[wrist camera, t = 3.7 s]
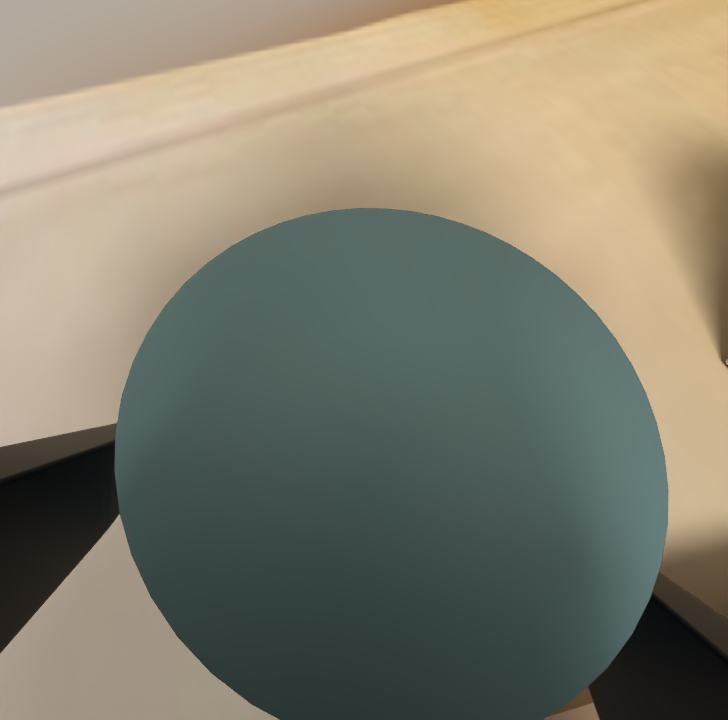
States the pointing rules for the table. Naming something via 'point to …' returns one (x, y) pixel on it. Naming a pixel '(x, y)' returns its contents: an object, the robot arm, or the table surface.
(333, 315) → the teal pillar
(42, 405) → the table surface
